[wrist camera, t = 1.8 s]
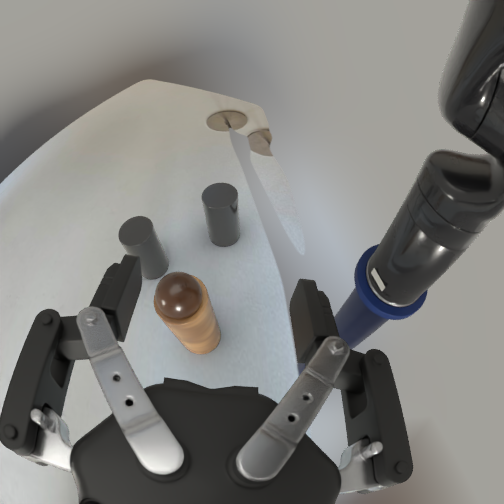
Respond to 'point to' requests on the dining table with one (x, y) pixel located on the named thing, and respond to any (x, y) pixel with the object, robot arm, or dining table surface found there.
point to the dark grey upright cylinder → (221, 213)
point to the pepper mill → (187, 311)
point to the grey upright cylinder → (144, 246)
